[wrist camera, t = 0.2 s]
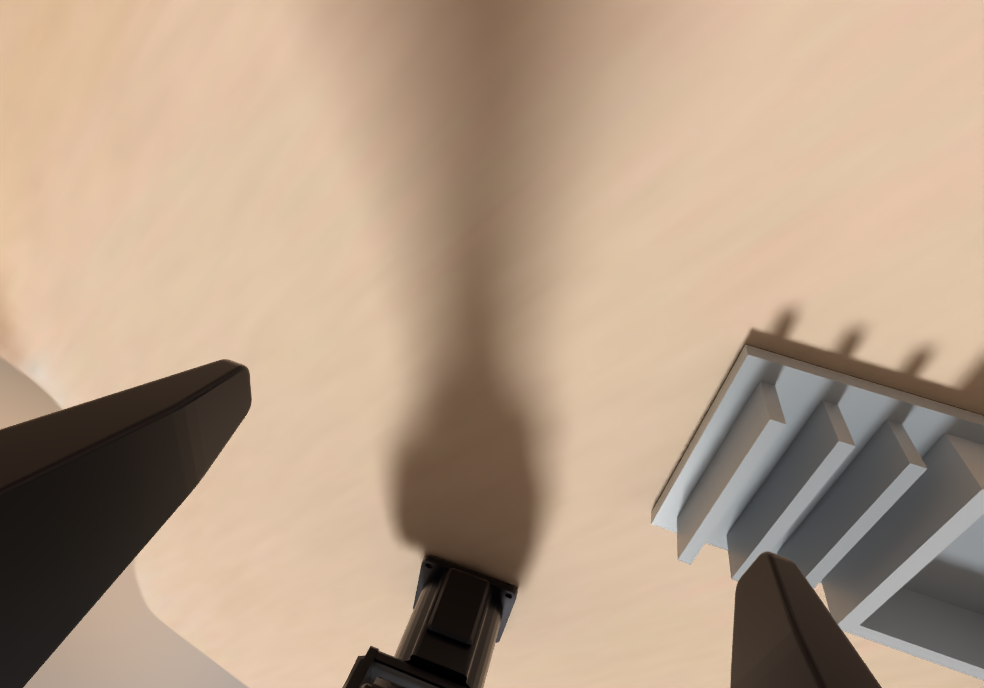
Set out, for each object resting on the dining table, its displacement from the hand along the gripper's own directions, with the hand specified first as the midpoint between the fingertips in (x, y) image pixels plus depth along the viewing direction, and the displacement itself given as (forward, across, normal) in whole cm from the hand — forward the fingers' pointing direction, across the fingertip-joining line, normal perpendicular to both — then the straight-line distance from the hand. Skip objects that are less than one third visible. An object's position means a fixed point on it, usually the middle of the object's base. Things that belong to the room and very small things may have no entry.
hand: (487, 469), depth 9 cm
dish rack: (+14, -17, +9) cm, 24 cm away
